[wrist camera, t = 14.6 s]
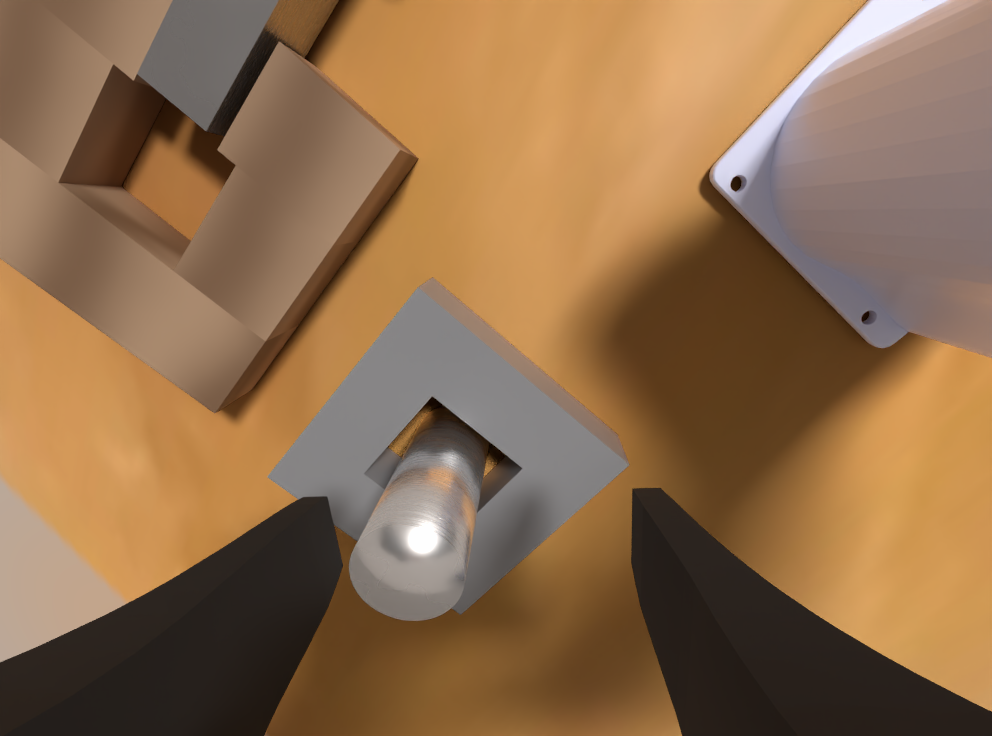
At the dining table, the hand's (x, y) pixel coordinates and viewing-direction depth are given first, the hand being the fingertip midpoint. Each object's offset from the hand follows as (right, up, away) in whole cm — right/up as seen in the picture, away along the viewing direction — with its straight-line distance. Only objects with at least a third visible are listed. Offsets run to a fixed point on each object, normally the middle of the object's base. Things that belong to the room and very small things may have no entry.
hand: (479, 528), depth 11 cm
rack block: (-2, +1, +9) cm, 10 cm away
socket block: (-11, +11, +7) cm, 17 cm away
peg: (-2, +1, +9) cm, 9 cm away
